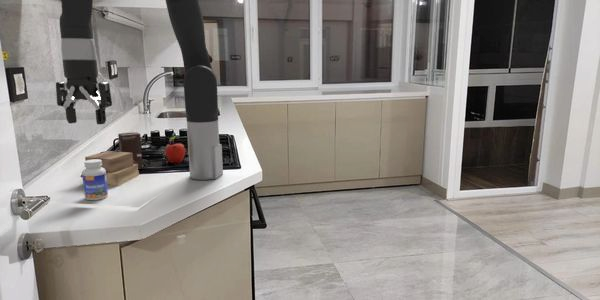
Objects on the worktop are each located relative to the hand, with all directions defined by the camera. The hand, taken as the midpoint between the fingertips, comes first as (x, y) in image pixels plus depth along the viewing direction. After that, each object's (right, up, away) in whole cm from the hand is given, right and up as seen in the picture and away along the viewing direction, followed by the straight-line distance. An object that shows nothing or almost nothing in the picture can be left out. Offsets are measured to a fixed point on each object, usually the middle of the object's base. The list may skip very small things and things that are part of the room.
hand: (86, 123), depth 106 cm
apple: (+12, -12, +38) cm, 41 cm away
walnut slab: (-2, -12, +17) cm, 21 cm away
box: (0, -13, +29) cm, 32 cm away
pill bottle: (+2, -19, +2) cm, 19 cm away
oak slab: (-2, -16, +18) cm, 24 cm away
